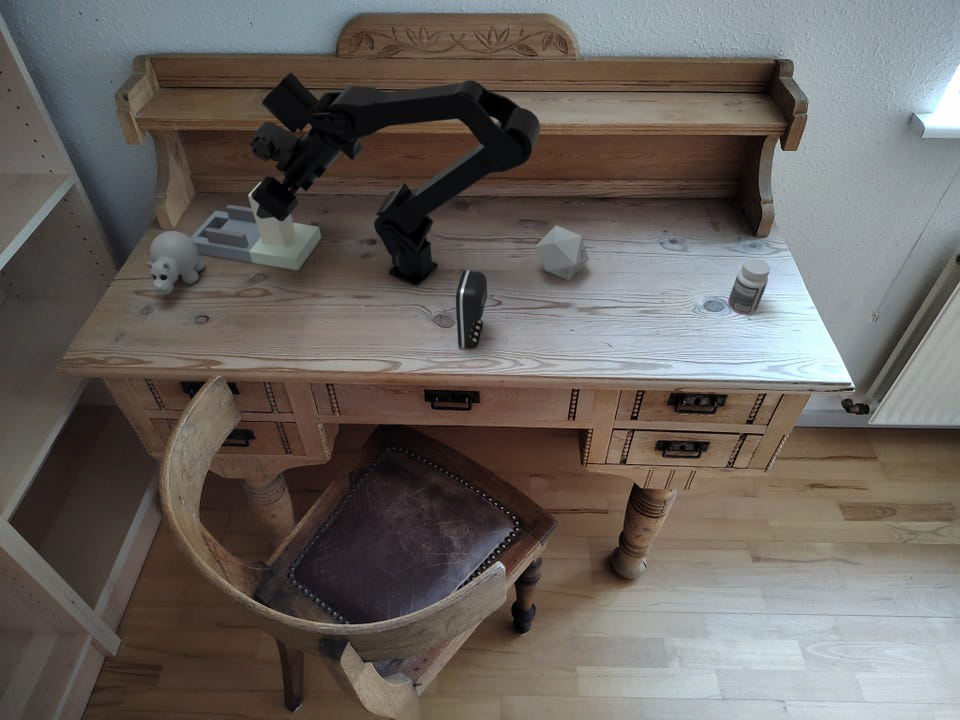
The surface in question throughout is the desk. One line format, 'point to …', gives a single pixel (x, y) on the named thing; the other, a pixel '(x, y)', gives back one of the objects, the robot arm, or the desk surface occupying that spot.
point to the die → (562, 252)
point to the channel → (252, 240)
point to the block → (273, 227)
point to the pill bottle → (749, 286)
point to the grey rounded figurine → (173, 261)
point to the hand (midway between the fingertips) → (271, 201)
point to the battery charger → (470, 307)
